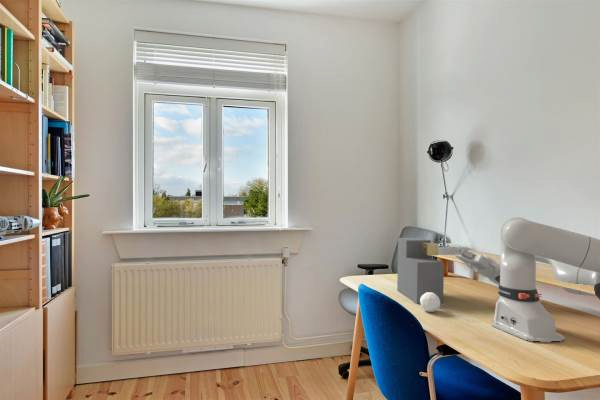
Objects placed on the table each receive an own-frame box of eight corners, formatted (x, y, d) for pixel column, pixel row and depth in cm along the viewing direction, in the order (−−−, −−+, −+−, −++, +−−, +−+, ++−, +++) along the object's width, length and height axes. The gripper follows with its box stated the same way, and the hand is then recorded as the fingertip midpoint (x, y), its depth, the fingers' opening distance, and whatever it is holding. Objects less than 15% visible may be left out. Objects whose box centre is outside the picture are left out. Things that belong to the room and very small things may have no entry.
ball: (425, 316, 147) (423, 297, 152) (445, 313, 143) (441, 293, 148) (417, 310, 143) (415, 291, 148) (437, 306, 139) (434, 287, 143)
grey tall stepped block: (443, 303, 157) (444, 243, 156) (416, 303, 155) (417, 243, 155) (420, 290, 178) (421, 238, 178) (397, 290, 177) (398, 237, 177)
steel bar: (469, 254, 162) (469, 243, 162) (427, 255, 160) (427, 244, 160) (463, 253, 167) (463, 242, 167) (422, 253, 165) (422, 242, 165)
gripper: (494, 275, 155) (468, 259, 154) (467, 266, 175) (444, 252, 174) (501, 263, 155) (475, 246, 154) (473, 255, 176) (450, 241, 174)
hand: (458, 249), depth 164 cm, fingers closed on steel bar, 3 cm apart
